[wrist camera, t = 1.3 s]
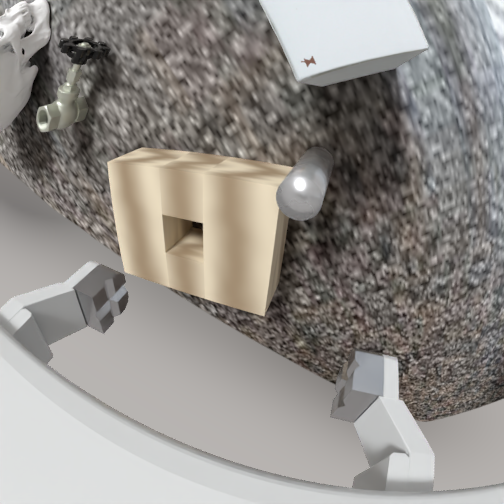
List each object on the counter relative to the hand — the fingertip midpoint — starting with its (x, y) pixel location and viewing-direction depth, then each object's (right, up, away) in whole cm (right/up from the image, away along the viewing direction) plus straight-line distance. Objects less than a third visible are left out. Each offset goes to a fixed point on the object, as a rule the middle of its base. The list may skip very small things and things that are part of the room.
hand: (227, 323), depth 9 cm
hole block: (-4, +7, +24) cm, 25 cm away
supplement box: (+9, +21, +10) cm, 25 cm away
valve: (-20, +24, +20) cm, 37 cm away
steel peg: (+7, +11, +17) cm, 21 cm away
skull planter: (-34, +33, +20) cm, 52 cm away
